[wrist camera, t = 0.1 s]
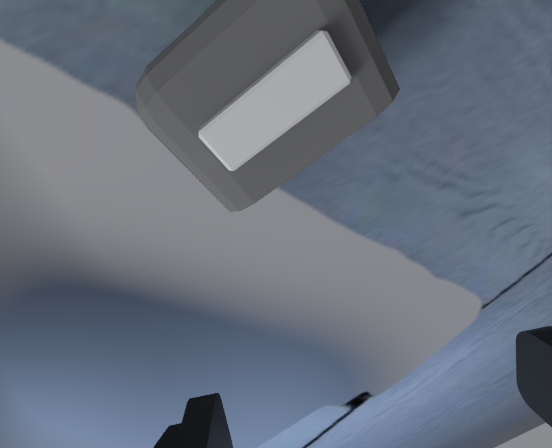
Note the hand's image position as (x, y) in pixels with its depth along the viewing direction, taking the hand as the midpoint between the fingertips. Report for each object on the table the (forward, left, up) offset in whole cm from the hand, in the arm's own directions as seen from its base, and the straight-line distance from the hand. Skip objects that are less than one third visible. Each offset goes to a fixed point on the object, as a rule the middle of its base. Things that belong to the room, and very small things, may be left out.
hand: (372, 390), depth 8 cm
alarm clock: (-4, +2, -32) cm, 32 cm away
